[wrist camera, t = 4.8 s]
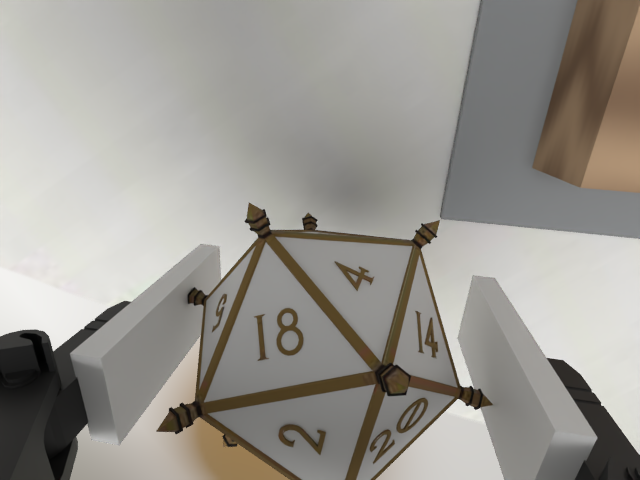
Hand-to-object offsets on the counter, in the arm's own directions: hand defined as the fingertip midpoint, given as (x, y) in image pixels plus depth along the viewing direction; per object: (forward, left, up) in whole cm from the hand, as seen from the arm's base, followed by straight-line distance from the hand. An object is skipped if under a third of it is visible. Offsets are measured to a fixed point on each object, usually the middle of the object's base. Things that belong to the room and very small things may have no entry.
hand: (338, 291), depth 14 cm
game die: (0, 0, -1) cm, 1 cm away
